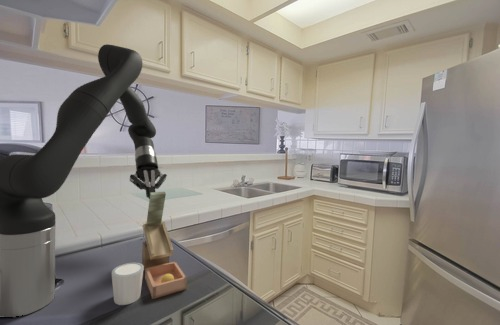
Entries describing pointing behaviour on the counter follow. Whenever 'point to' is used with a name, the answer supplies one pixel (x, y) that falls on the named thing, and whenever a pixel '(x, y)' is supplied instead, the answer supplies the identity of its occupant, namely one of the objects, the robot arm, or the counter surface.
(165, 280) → the ball
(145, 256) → the fulcrum
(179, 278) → the dish
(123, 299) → the white cylinder
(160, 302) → the counter surface
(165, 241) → the ramp
